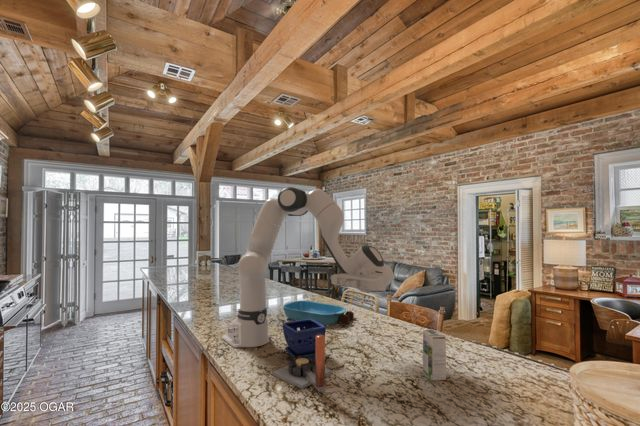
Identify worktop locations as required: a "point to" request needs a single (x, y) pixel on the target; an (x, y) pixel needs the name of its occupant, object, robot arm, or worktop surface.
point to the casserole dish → (313, 311)
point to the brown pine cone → (346, 317)
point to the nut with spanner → (312, 366)
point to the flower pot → (302, 337)
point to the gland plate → (296, 380)
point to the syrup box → (434, 355)
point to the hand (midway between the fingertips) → (343, 284)
